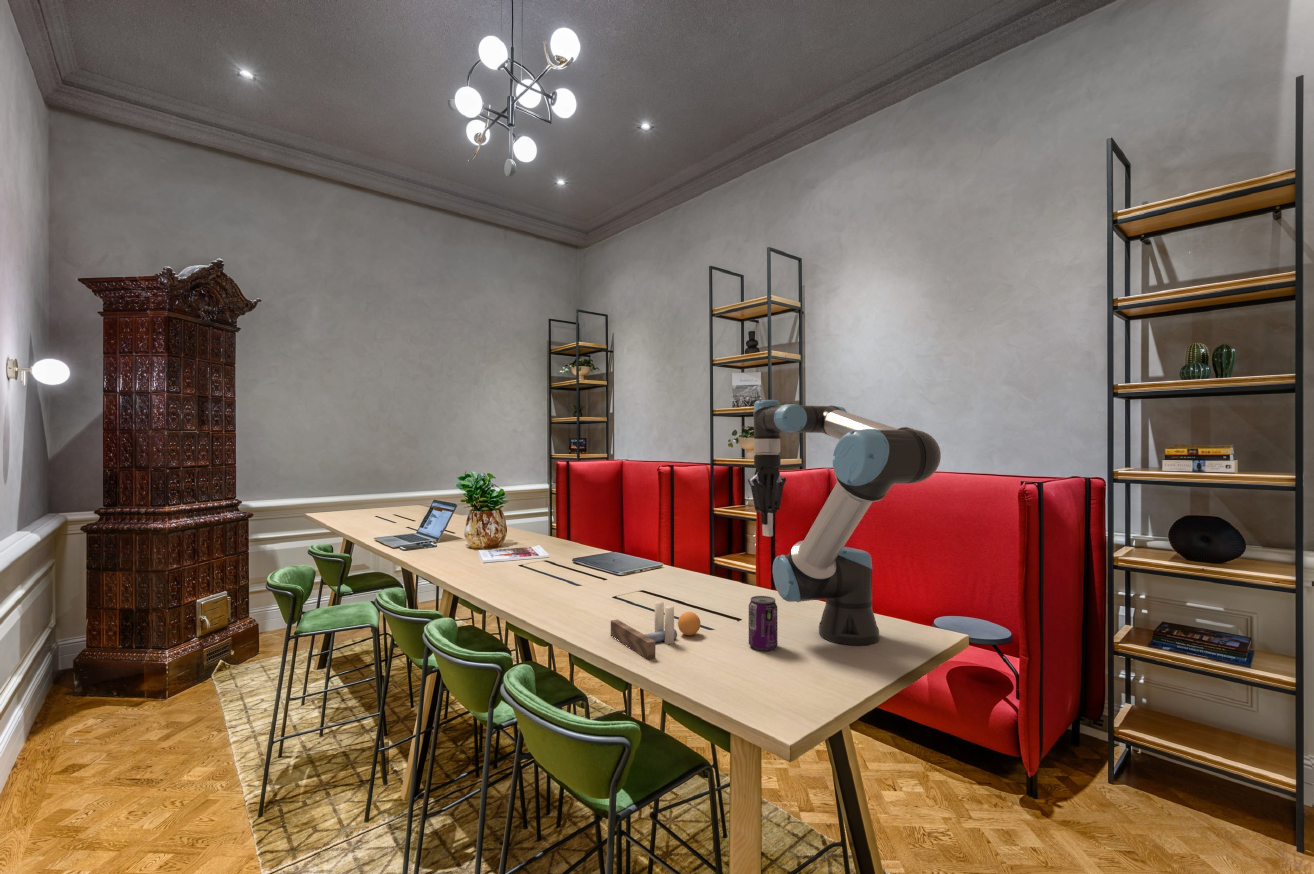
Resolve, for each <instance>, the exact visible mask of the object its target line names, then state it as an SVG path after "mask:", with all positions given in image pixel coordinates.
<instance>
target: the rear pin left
mask: <svg viewBox="0 0 1314 874" xmlns="http://www.w3.org/2000/svg"><path fill="white" fill-rule="evenodd" d="M674 629H675V606H671V605H666V606H664V631H665V641H664V644H666V645H673V644H674V643H675V639H674Z"/></svg>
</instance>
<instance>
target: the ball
mask: <svg viewBox="0 0 1314 874" xmlns="http://www.w3.org/2000/svg"><path fill="white" fill-rule="evenodd" d="M677 627H678V629H679V631H680V632H681V633H682V634H683V635H686V636H693V635H696V634H697V633H698V632H699V630H700V628H701V619H700V617H699V615H697V614H696V613H695V612H693V611H686V612H683V613H681V615H680V616H679V618H678V620H677Z"/></svg>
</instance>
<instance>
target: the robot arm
mask: <svg viewBox="0 0 1314 874" xmlns="http://www.w3.org/2000/svg"><path fill="white" fill-rule="evenodd" d="M753 406H754V407H753V414H752V415H753V451H754V453H755V454H754V456H753V466H754V469H755V470H754V475H753V476H752V478H751V477H750V478H748V479H747V482H748V485H749V486H750V491H751V496H752V501H753V505H754V511H756V512H758V513H760V524H761V526H762V536H765V537H773V536H774V529H773V528H774V527H773V526H774V524H775V514H777V513H778V511H780V509H781V502H782V498H783V493H784V492H783V491H784V486H785V484H786V482H787V478H786V476H785V477H783V476H781V472H780V470H779V469H780V467H781V463H782V462H781V459H782V458H781V455H780V454H779V453H781V434H782V433H783V434H784V433H787V434H789V433H791V434H792V433H796V434H797V433H799V434H802V433H806V434H808V433H812V434H813V433H817V434H818V433H820V434H824V435H826V436H828V437H829V436H830V437H832V438H834V439H837V440H838V441H837V443H836V446H835V447H834V451H833V454H832V455H833V457H834V459H832V468H833V472H834V477H835V479H836V484H835V485H834V487H833V489H832V490H831V492H830V494H829V495H828V497H827V498H826V501H825V503H824V505H823V506H822V508H821V509H820V511H819V513H818V515H817V516H816V519H815V520H814V522H813V523H812V525H811V527H810V529H809V531H808V533H807V534H806V536H805V538H804V540H800V541H798V542H796V543H795V544H794V545H793V546H792V548H791V550H790V551H789V552H788V554H786V555H785V554H781V555H777V556H776V557H775V558H774V560H773V563H772V577H773V583H774V586H775V588H776V589H775V590H776V591H777V593H778V595H779V596H780V597H781V598H782V600H784V601H786V602H789V603H792V602H794V603H795V602H796V603H801V602H810V601H818V600H825V605H824V609H823V612H822V615H821V618H820V621H819V625H818V634H819V636H820V637H822V639H824V640H827V641H830V642H833V643H837V644H841V645H849V646H866V645H872V644H875V643H878V642H880V628H879V626H878V625H877V621H876V617H875V614H874V611H873V583H872V582H873V563H872V555H871V554H870V553H869V552H868V551H865V550H863V549H857V548H854V547H848V546H845V545H846V544H847V542H848V541H849V539H850V537H851V536H852V535H853V533H854V531H855V530H856V528H857V527H858V525H859V524H860V522H861V520H862V519H863V517H864V516H865V515H866V512H867V511H868V510H869V509H870V506H871V505H872V504H873V503H875V502H879V501H882V500H883V499H885V497H886V495H887V494H888V492H890V490H891V488H892V486H894V485H901V484H903V485H904V484H917V483H920V482H923V481H926V480H927V479H929V478H930V477H932V475H935V473H936V471H937V470H938V468H939V466H940V463H941V457H942V456H941V455H942V454H941V453H942V452H941V448H940V446H939V444H938V442H937V441H936V440H937V439H935V438H934V437H933V436H932V435H931V434H929V433H928V432H925V431H923V430H918V429H914V428H911V427H908V426H902V427H898V428H897V427H893V426H891V425H887V424H885V423H881V422H879V421H875V420H871V419H869V418H865V417H862V416H859V415H856V414H854V413H850V412H848V411H847V410H846V409H845V407H843V406H838V405H837V406H836V405H800V404H794V403H791V404H790V403H786V404H784V405H783V404H782V405H781V403H780V401H779V400H776V399H763V400H762V399H760V400H756V401H755V402H754V404H753Z"/></svg>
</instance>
